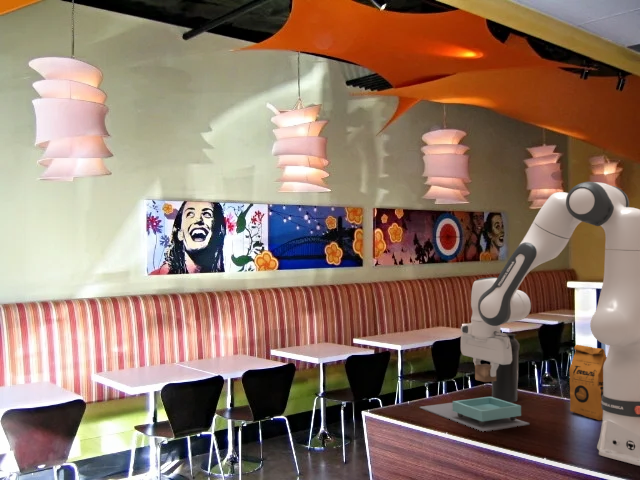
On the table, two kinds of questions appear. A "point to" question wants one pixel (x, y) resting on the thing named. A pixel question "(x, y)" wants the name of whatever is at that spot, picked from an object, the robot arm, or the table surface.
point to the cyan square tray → (486, 409)
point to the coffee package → (587, 381)
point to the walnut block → (483, 373)
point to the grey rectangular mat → (490, 425)
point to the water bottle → (507, 376)
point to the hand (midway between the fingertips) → (485, 374)
